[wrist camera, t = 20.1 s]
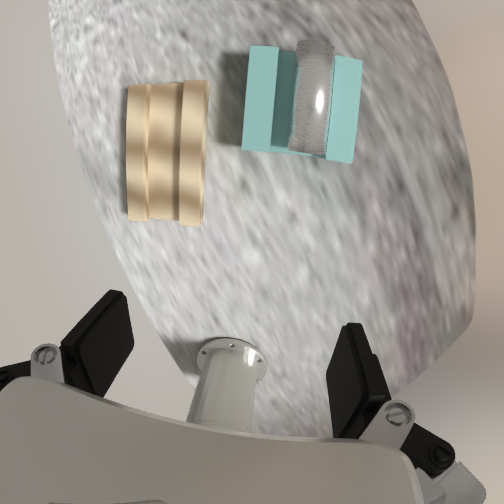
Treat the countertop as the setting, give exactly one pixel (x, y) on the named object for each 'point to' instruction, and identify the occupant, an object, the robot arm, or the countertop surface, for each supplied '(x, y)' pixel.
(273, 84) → the cradle
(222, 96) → the countertop surface
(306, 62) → the axle
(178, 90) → the wooden grooved block
